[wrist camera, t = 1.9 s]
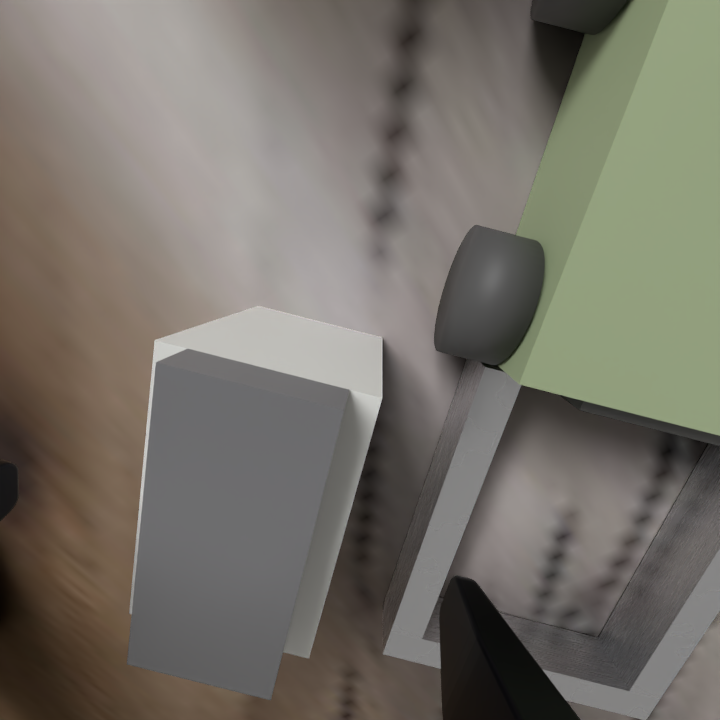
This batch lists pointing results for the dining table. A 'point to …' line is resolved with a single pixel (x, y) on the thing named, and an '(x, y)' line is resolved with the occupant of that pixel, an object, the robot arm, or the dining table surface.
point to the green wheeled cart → (612, 229)
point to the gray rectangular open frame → (544, 642)
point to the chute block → (247, 492)
